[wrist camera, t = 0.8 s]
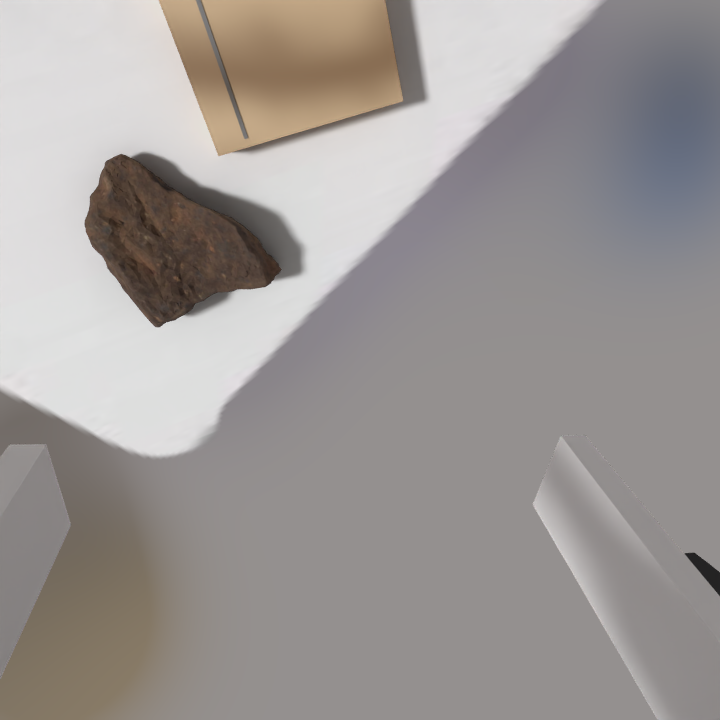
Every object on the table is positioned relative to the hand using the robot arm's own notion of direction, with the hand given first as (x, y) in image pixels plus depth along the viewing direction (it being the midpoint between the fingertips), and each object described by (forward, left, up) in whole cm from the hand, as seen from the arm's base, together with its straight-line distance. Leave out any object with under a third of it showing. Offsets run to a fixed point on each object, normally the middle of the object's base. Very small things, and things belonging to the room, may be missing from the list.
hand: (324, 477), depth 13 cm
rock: (-1, -9, -26) cm, 28 cm away
